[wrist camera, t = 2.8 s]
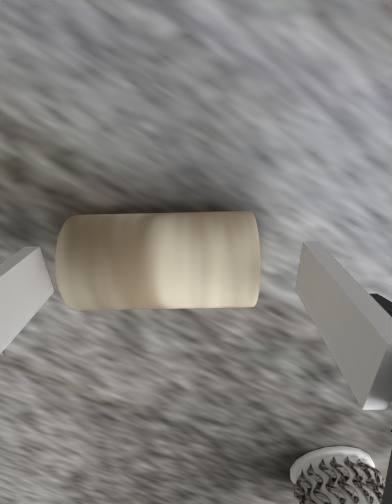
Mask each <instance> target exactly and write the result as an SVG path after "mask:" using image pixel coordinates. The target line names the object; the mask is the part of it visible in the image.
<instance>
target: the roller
mask: <svg viewBox="0 0 392 504" xmlns="http://www.w3.org/2000/svg"><path fill="white" fill-rule="evenodd" d="M55 273H56V280H57V285H58V289H59V292H60V294H61V297H62V299H63V300H64V302H65V303H66V305H67V306H68V307H69V308H71V309H73V310H124V309H174V308H224V307H254V306H255V305H256V302H257V299H258V295H259V289H260V276H261V255H260V241H259V233H258V227H257V223H256V219H255V216H254V214H253V212H252V211H221V212H180V213H139V214H98V215H73V216H71V217H70V218H68V219H67V220H66V222H65V223H64V225H63V226H62V228H61V231H60V233H59V236H58V240H57V244H56V251H55Z"/></svg>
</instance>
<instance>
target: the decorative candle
mask: <svg viewBox="0 0 392 504" xmlns="http://www.w3.org/2000/svg"><path fill="white" fill-rule="evenodd" d="M290 478H291V481H292V482H293V483H294V484H295V485H294V490H295V493H294V497H295V499H297V500H298V501H299V504H381V501H382V496H383V491H384V486H385V481H384V479H383V478H382V476H381V474H380V472H379V471H378V470H377V469H375V465H374V463H373V461H372V459H371V457H370V456H369V454H368V453H366V452H364V451H362V450H361V449H359V448H354V447H348V446H333V447H324V448H320V449H317V450H314V451H311V452H308V453H306V454H305V455H303V456H302V457H300V458H298V459H297V460H296V461H295V462H294V464H293V465H292V466H291V468H290Z"/></svg>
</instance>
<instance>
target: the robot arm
mask: <svg viewBox="0 0 392 504" xmlns="http://www.w3.org/2000/svg"><path fill="white" fill-rule="evenodd" d="M295 290H296V292H297V293H298V295H299V297H300V299H301V301H302V302H303V304H304V306H305V308H306V310H307V311H308V313H309V315H310V317H311V319H312V320H313V322H314V324H315V326H316V328H317V329H318V331H319V333H320V335H321V336H322V338H323V340H324V342H325V344H326V345H327V347H328V349H329V351H330V353H331V354H332V356H333V358H334V360H335V362H336V363H337V365H338V367H339V369H340V371H341V372H342V374H343V376H344V378H345V379H346V381H347V383H348V385H349V387H350V388H351V390H352V392H353V394H354V396H355V397H356V399H357V401H358V403H359V405H360V406H361V408H362V410H388V408H389V405H390V403H391V401H392V302H391V301H389V300H387V299H386V298H384V297H382V296H380V295H379V294H369V293H368V292H367V291H366V290H365V289H364V288H363V287H362V286H361V285H360V284H359V283H358V282H357V281H356V280H355V279H354V278H353V277H352V276H351V275H350V274H349V273H348V272H347V271H346V270H345V269H344V268H343V266H342V265H341V264H340V263H339V262H338V261H337V260H336V259H335V258H334V257H333V256H332V255H331V254H330V253H329V252H328V251H327V250H326V249H325V248H324V247H323V246H322V245H321V244H320V243H319V242H303V245H302V251H301V257H300V263H299V269H298V275H297V281H296V287H295ZM53 292H54V290H53V287H52V284H51V281H50V278H49V274H48V271H47V268H46V265H45V262H44V259H43V255H42V252H41V249H40V246H37V247H24V248H22V249H21V250H19V251H18V252H17V253H15V254H14V255H12V256H11V257H10V258H8V259H7V260H5V261H4V262H3V263H1V264H0V354H1V353H2V352H3V351H4V349H5V348H6V347H7V346H8V345H9V344H10V342H11V341H12V340H13V339H14V338H15V337H16V335H17V334H18V333H19V332H20V331H21V330H22V328H23V327H24V326H25V325H26V324H27V323H28V322H29V320H30V319H31V318H32V317H33V316H34V315H35V313H36V312H37V311H38V310H39V309H40V308H41V306H42V305H43V304H44V303H45V302H46V301H47V299H48V298H49V297H50V296H51V295H52V294H53ZM391 432H392V430H391ZM381 504H392V451H391V456H390V461H389V466H388V471H387V477H386V481H385V486H384V491H383V496H382V501H381Z"/></svg>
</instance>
